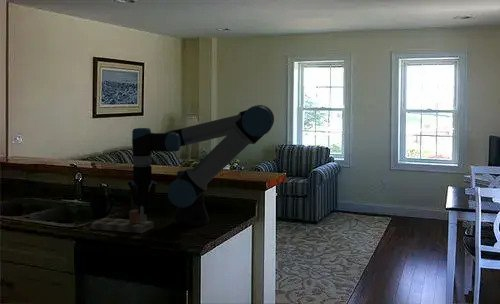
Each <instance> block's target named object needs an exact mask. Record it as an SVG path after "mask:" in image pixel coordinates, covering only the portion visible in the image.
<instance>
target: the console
mask: <svg viewBox="0 0 500 304" xmlns="http://www.w3.org/2000/svg"><path fill="white" fill-rule="evenodd" d="M154 223H155V222H154V221H151V220H147V221H146V222H138V223H137V224H133V223H129V218H128V219H127V218H124V219H123V218H116V217H115V218H111V217H103V218H100V219H99V220H96V221H94V222H91V230H99V231H100V230H101V231H113V232H125V233H137V234H144V233H145V232H148V231H149V230H151V229H153V228H155V225H154Z"/></svg>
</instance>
